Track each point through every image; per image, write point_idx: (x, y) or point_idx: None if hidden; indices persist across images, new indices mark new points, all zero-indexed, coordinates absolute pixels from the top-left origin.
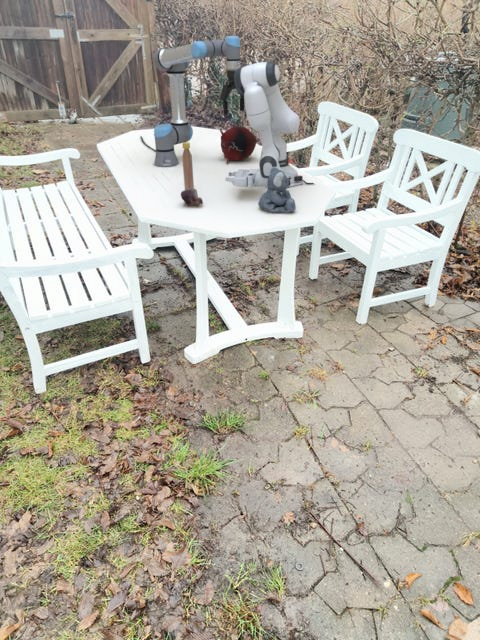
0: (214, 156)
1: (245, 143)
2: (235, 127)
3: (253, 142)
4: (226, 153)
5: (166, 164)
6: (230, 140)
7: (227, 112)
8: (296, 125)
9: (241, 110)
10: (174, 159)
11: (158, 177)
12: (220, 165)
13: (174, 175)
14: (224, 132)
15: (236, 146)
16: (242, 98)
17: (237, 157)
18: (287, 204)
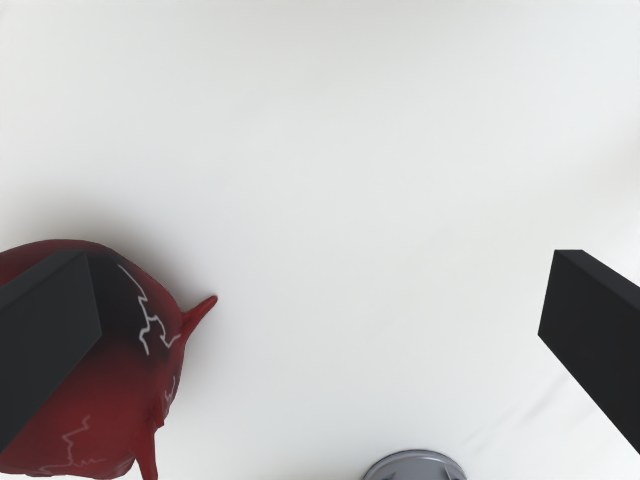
0: (170, 427)
1: None
2: (25, 442)
3: (3, 254)
4: (185, 343)
5: (454, 467)
6: (145, 367)
7: (586, 260)
8: None
9: (94, 298)
10: (412, 474)
11: None
12: (260, 305)
13: (535, 348)
14: (111, 468)
15: (139, 307)
16: None
17: (153, 279)
18: None
